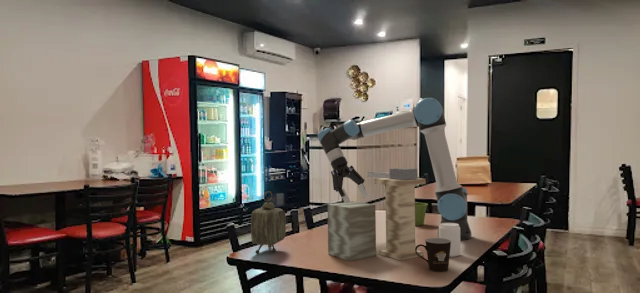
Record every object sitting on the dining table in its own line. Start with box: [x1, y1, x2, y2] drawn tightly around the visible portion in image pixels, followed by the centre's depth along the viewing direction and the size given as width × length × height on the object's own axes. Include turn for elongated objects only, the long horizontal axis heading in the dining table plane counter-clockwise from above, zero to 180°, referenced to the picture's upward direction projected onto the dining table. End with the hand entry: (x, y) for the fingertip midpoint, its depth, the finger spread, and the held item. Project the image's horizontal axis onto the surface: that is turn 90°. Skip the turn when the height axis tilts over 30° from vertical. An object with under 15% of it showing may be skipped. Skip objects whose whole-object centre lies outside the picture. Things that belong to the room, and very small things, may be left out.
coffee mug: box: [415, 237, 451, 273], centre depth 157 cm, size 12×9×10 cm
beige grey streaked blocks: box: [327, 177, 427, 262], centre depth 178 cm, size 26×28×30 cm
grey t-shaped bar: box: [366, 167, 418, 180], centre depth 182 cm, size 24×7×4 cm, turn 35°
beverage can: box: [438, 222, 462, 258], centre depth 176 cm, size 8×8×12 cm
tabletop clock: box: [250, 190, 287, 255], centre depth 186 cm, size 14×9×25 cm, turn 159°
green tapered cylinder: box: [415, 202, 429, 226], centre depth 243 cm, size 12×12×11 cm
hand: (357, 199), depth 207 cm, fingers open, 13 cm apart
